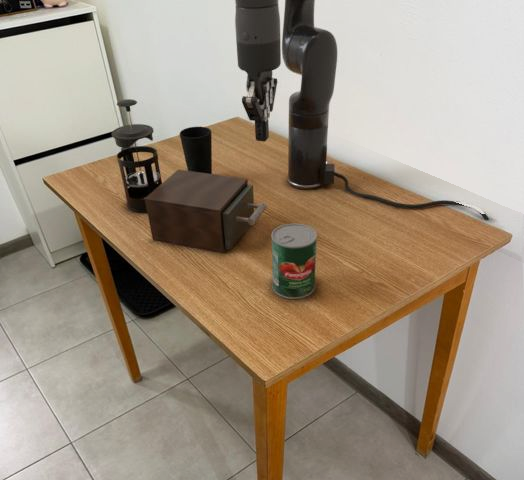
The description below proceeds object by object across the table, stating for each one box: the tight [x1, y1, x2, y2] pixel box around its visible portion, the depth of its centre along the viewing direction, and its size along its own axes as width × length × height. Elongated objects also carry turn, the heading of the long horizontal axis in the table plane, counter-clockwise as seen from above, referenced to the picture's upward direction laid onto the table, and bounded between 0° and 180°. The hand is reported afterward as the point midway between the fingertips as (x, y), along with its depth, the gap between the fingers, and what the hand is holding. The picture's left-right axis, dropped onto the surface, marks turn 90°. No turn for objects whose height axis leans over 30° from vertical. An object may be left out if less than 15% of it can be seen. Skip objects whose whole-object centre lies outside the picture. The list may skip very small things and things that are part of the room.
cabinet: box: [144, 169, 249, 254], centre depth 107 cm, size 17×15×10 cm
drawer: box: [222, 183, 268, 250], centre depth 106 cm, size 20×13×8 cm
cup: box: [179, 126, 213, 174], centre depth 125 cm, size 8×8×12 cm
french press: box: [111, 98, 163, 214], centre depth 113 cm, size 12×9×23 cm
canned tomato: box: [270, 223, 318, 300], centre depth 90 cm, size 8×8×11 cm
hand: (262, 139), depth 97 cm, fingers closed
